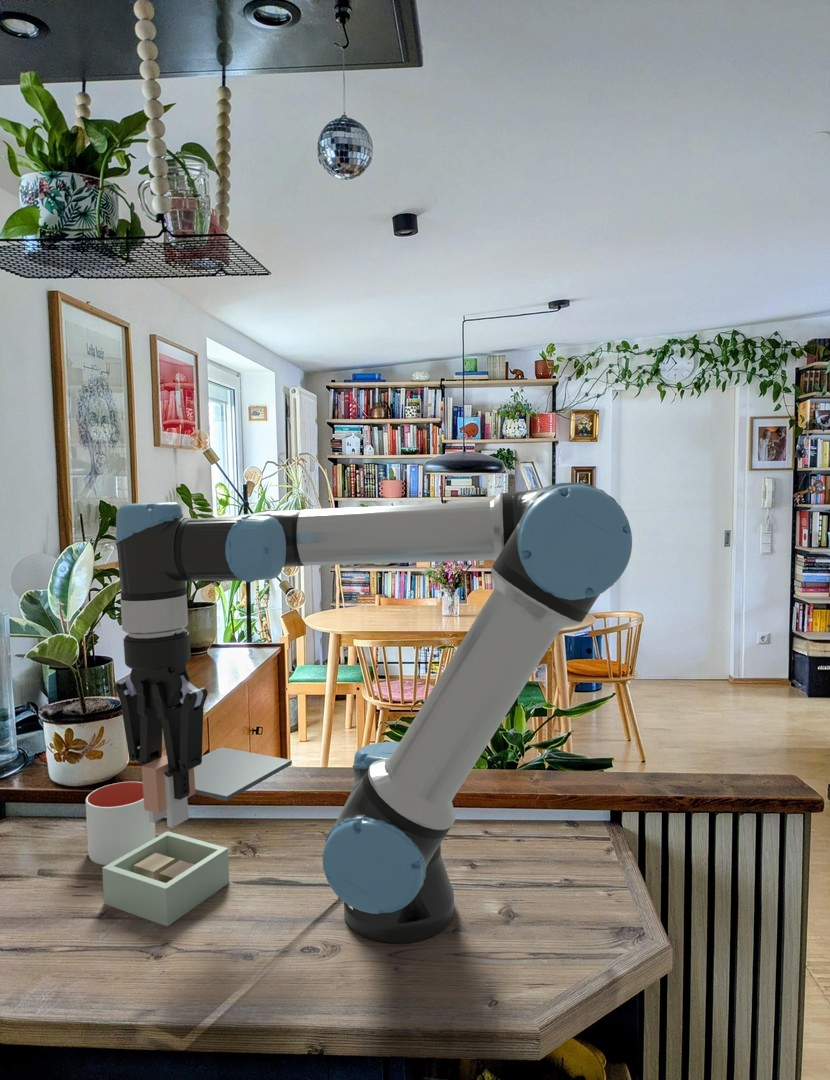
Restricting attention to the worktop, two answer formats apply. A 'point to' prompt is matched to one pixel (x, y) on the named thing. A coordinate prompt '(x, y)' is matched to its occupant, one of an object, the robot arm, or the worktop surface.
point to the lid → (212, 775)
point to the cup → (117, 821)
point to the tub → (173, 896)
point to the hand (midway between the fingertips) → (168, 819)
